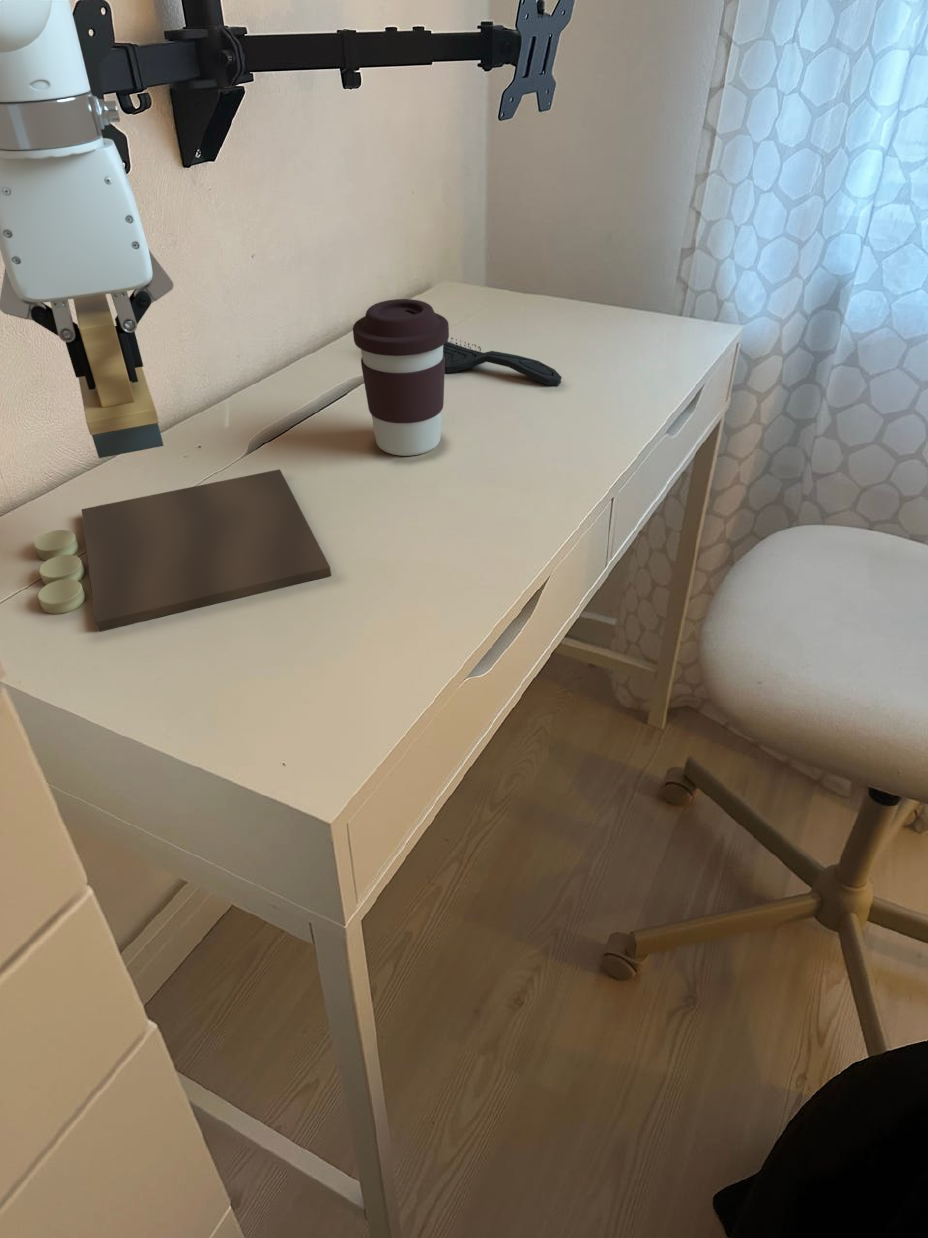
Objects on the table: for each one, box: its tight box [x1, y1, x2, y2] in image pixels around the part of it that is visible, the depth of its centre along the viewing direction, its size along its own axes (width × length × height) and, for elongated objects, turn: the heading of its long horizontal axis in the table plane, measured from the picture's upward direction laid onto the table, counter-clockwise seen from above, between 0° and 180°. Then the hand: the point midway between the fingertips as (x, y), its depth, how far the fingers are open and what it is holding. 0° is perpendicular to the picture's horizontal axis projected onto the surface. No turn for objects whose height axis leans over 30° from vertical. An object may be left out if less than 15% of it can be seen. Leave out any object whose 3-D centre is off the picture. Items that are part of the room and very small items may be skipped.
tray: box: [81, 468, 332, 632], centre depth 84 cm, size 20×20×1 cm
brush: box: [72, 294, 164, 459], centre depth 72 cm, size 5×12×10 cm, turn 23°
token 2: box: [38, 554, 86, 586], centre depth 81 cm, size 4×4×1 cm
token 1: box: [34, 529, 79, 561], centre depth 84 cm, size 4×4×1 cm
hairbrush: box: [443, 337, 562, 387], centre depth 116 cm, size 8×4×25 cm
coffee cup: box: [352, 298, 450, 457], centre depth 96 cm, size 10×10×15 cm
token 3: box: [37, 579, 86, 615], centre depth 77 cm, size 4×4×1 cm
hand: (111, 378), depth 73 cm, fingers closed on brush, 2 cm apart
